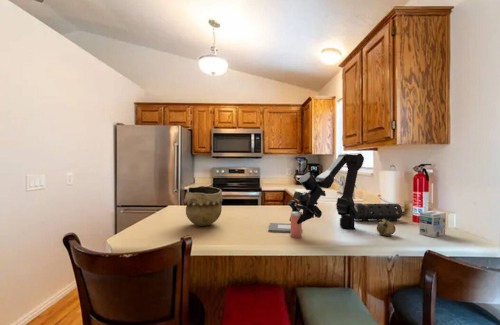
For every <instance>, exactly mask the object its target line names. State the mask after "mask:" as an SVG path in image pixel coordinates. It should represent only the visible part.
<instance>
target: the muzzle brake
mask: <svg viewBox="0 0 500 325" xmlns="http://www.w3.org/2000/svg"><path fill="white" fill-rule="evenodd" d="M354 203H355V204H354V208H355V209H356V211H357V212H358V216H357V217H356V218H355V220H356V221H357V220H359V221H360V220H361V221H362V222H368V221H369V220H371V221H375V220H376V221H378V222H380V221H382V219H385V220H386V221H398V220H399V219H401V218H402V215H403V208H402V206H401V204H399V203H361V202H360V203H359V202H354Z"/></svg>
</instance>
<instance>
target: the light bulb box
mask: <svg viewBox="0 0 500 325" xmlns="http://www.w3.org/2000/svg"><path fill="white" fill-rule="evenodd" d="M446 217H447V213H446V212H443V211H442V212H441V211H438V210H437V211H435V210H427V211H419V225H418V226H419V227H418V229H419V233H418V234H419V235H423V236H427V237H430V238H436V237H443V236H446V225H447V224H446V223H447V222H446V220H447V218H446Z"/></svg>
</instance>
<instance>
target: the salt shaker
mask: <svg viewBox="0 0 500 325" xmlns="http://www.w3.org/2000/svg"><path fill="white" fill-rule="evenodd" d="M302 213H303V211H299V212H297V211H293V212H292V211H291V212H290V217H291V222H290V224H291V233H289V234H290V237H291V238H294V239H300V238H302V233H303V230H302V228H303V227H302V223H303V222H302V223H300V224H297V221H298V219H299V218H300V216H301V215H302Z"/></svg>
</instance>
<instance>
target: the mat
mask: <svg viewBox="0 0 500 325" xmlns="http://www.w3.org/2000/svg"><path fill="white" fill-rule="evenodd" d="M267 231H268V233H285V234H286V233H288V234H290V233H291V223H284V222H283V223H282V222H281V223H280V222H270V223H269V226H268V230H267Z"/></svg>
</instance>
